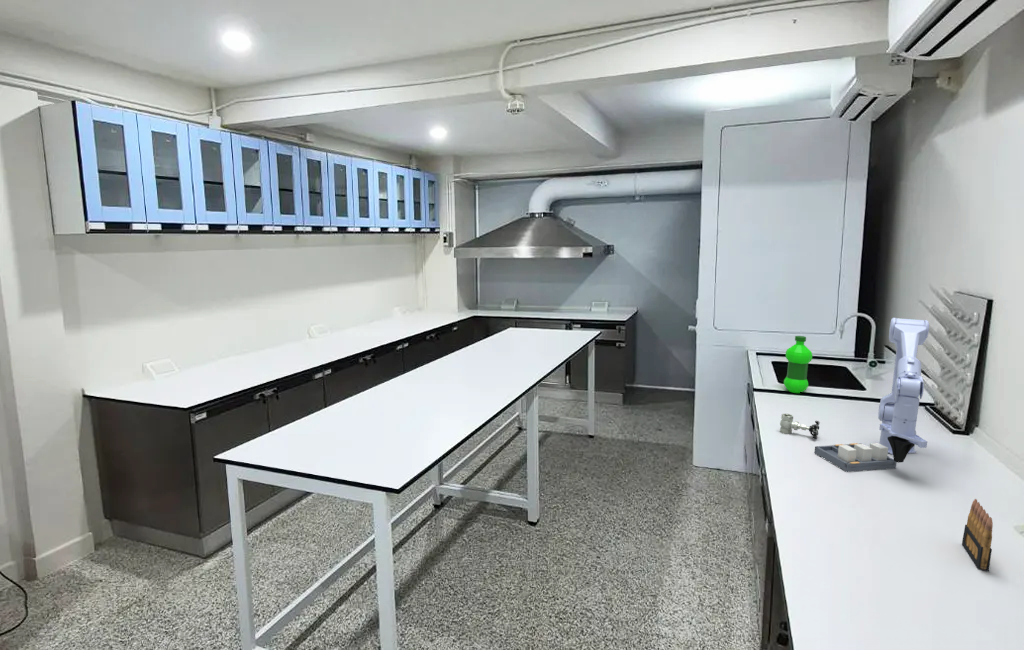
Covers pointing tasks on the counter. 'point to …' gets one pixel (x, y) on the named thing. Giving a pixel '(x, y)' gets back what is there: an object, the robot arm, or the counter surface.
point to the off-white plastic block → (847, 453)
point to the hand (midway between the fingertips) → (898, 461)
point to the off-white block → (863, 452)
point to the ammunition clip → (978, 536)
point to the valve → (796, 426)
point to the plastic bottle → (797, 366)
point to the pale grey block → (879, 451)
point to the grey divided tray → (832, 456)
